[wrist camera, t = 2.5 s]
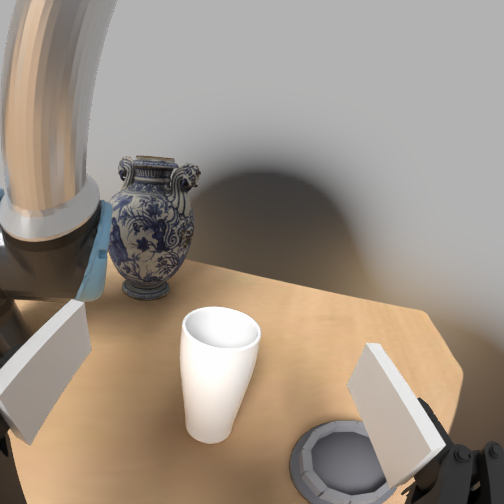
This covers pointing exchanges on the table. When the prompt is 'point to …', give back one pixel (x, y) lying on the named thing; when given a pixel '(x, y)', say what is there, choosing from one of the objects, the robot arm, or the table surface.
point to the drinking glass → (216, 369)
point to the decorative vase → (151, 223)
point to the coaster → (338, 466)
